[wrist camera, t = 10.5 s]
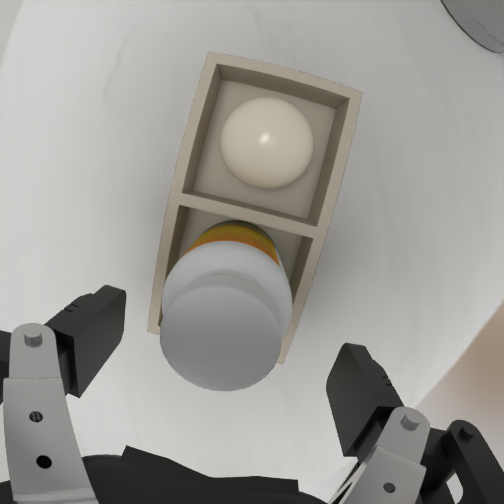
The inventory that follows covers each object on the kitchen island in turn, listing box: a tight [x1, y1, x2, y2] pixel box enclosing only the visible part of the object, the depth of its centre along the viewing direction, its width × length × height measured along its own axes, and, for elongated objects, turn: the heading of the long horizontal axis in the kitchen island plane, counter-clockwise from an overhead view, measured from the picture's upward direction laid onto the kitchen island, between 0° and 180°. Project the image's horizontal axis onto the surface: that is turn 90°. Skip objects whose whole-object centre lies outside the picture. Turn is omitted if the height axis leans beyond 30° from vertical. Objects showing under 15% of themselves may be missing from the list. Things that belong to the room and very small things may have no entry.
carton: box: [147, 52, 363, 364], centre depth 17 cm, size 16×8×4 cm, turn 166°
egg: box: [219, 96, 315, 189], centre depth 15 cm, size 5×5×5 cm
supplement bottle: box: [160, 220, 293, 391], centre depth 14 cm, size 5×5×10 cm
